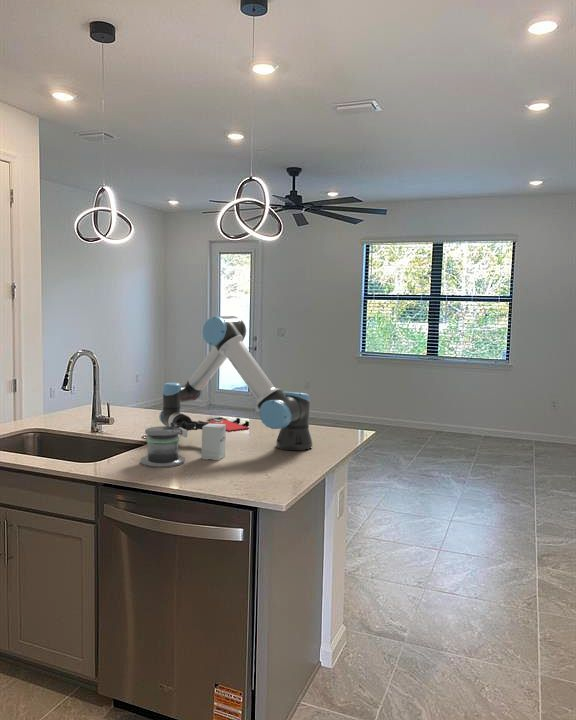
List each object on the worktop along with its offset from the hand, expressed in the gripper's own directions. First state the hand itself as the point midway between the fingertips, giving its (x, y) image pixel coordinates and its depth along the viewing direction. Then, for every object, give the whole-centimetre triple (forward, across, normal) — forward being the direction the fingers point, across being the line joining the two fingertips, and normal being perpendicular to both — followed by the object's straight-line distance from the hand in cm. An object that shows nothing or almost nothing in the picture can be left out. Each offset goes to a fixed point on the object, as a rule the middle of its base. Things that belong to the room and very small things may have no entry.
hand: (202, 432), depth 232 cm
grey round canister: (+7, +19, -8) cm, 22 cm away
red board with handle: (-44, -34, -9) cm, 56 cm away
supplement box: (+10, 0, -8) cm, 13 cm away
